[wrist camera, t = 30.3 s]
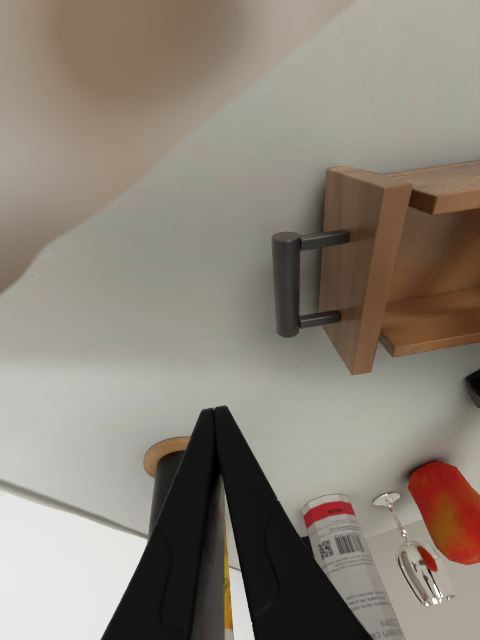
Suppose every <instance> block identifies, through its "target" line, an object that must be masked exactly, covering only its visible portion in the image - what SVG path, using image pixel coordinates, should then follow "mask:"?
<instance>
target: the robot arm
mask: <svg viewBox="0 0 480 640" xmlns="http://www.w3.org/2000/svg"><path fill="white" fill-rule="evenodd" d="M466 381H467V384H468V387H469V390H470V393H471V396H472V399H473V402H474V404H475V406H476V407H477V408H480V371H479V372H477V373H475V374H473V375H471V376H469V377H468V378H467V379H466ZM224 489H225V494H226V499H227V504H228V508H229V513H230V518H231V523H232V528H233V533H234V538H235V543H236V548H237V553H238V558H239V563H240V568H241V573H242V578H243V582H244V588H245V593H246V597H247V602H248V608H249V613H250V617H251V621H252V623H253V624H252V627H253V632H254V637H255V640H374V639H373V638H372V636H371V635H370V634H369V633H368V631H367V630H366V629H365V628H364V626H363V625H362V624H361V623H360V621H359V620H358V619H357V617H356V616H355V615H354V613H353V612H352V611H351V609H350V608H349V607H348V605H347V604H346V602H345V601H344V600H343V598H342V597H341V595H340V594H339V592H338V591H337V590H336V588H335V587H334V585H333V584H332V583H331V581H330V580H329V578H328V577H327V575H326V574H325V573H324V571H323V570H322V568H321V567H320V565H319V564H318V563H317V561H316V560H315V558H314V557H313V556H312V554H311V553H310V551H309V550H308V548H307V547H306V545H305V544H304V542H303V541H302V539H301V538H300V536H299V535H298V533H297V532H296V530H295V528H294V526H293V525H292V523H291V521H290V520H289V518H288V516H287V515H286V513H285V511H284V509H283V507H282V505H281V504H280V502H279V500H277V497H276V495H275V493H274V491H273V489H272V487H271V486H270V484H269V482H268V480H267V478H266V477H265V475H264V473H263V471H262V469H261V467H260V466H259V464H258V462H257V460H256V458H255V456H254V455H253V453H252V451H251V449H250V447H249V445H248V444H247V442H246V440H245V438H244V436H243V435H242V433H241V431H240V429H239V427H238V425H237V424H236V422H235V420H234V418H233V416H232V414H231V413H230V411H229V409H228V407H227V406H219V407H216V408H215V409H214V408H208V409H203V410H202V411H201V413H200V415H199V418H198V420H197V423H196V425H195V428H194V430H193V433H192V435H191V438H190V440H189V443H188V445H187V447H186V450H185V452H184V455H183V457H182V460H181V462H180V465H179V467H178V470H177V472H176V475H175V477H174V480H173V482H172V485H171V487H170V490H169V492H168V494H167V497H166V499H165V502H164V504H163V507H162V509H161V512H160V514H159V517H158V519H157V524H156V525H155V526H154V529H153V531H152V534H151V536H150V539H149V541H148V543H147V546H146V548H145V550H144V553H143V555H142V557H141V560H140V562H139V564H138V566H137V568H136V570H135V572H134V575H133V577H132V579H131V581H130V583H129V585H128V587H127V589H126V591H125V593H124V595H123V597H122V599H121V601H120V603H119V605H118V607H117V609H116V611H115V613H114V615H113V617H112V619H111V621H110V622H109V624H108V626H107V629H106V630H105V632H104V634H103V636H102V638H101V640H225V510H224Z"/></svg>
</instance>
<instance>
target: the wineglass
mask: <svg viewBox="0 0 480 640" xmlns="http://www.w3.org/2000/svg"><path fill="white" fill-rule="evenodd" d="M399 498H400V494H399V493H387V494H384V495H381V496H379V497H378V498H376V499H375V500H374V501H373V504H374V505H376V506H384V505H385V506H387V507H388V508H389V509H390V511H391V512H392V514H393V516H394V518H395V520H396V523H397V526H398V529H399V532H400V534H401V535H402V537H403V538H404V539H405V541H404V542H403V543H402V544H401V545H400V546H399V547H398V549H397V551H396V561H397V565H398V568H399V570H400V573H401V575H402V577H403V579H404V580H405V582H406V584H407V586H408V588H409V589H410V591H411V592H412V594H413V595H414V597H415V598H416V600H417V601H418V603H419V604H420V605H431V604H435V603H439V602H443V601H446V600H449V599H451V598H453V597H455V596H456V595H455V591H454V589H453V586H452V583H451V581H450V578H449V576H448V573H447V571H446V568H445V566H444V564H443V563H442V561H441V559H440V557H439V556H438V554H437V553H436V552H435V550H434V549H433V548H432V547H431V546H430V545H428V544H427V543H425V542H423V541H419V540H413V539H408V534H407V531H406V529H405V528H404V527H403V526H402V524H401V523H400V521H399V520H398V518H397V516H396V514H395V512H394V509H393V502H395V501H397V500H398V499H399Z"/></svg>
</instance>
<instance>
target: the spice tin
mask: <svg viewBox="0 0 480 640" xmlns="http://www.w3.org/2000/svg"><path fill="white" fill-rule="evenodd" d="M184 452H185V450H180V451H174V452H171V453H168V454H166V455H164V456H163V457H161V458H160V459H159V461H158V462H157V467H156V475H155V483H154V492H153V500H152V508H151V517H150V525H149V534H148V541H149V539H150V536H151V534H152V531H153V529H154V526H155V525H156V524H157V519H158V517H159V514H160V512H161V509H162V507H163V504H164V502H165V499H166V497H167V494H168V492H169V490H170V487H171V485H172V482H173V480H174V477H175V475H176V472H177V470H178V467H179V465H180V462H181V460H182V457H183V455H184Z"/></svg>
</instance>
